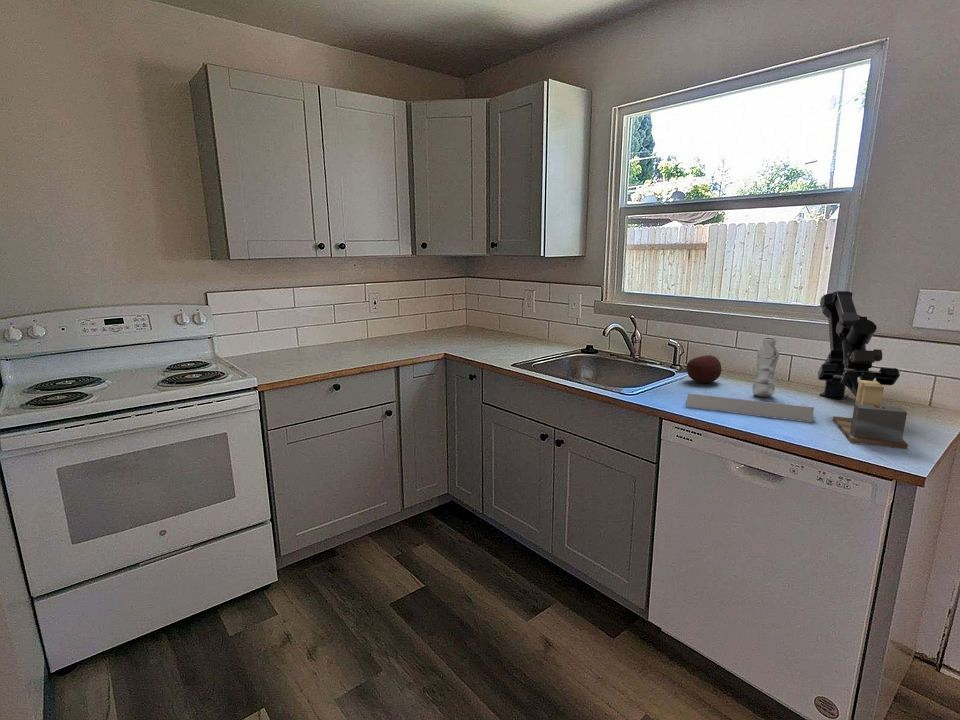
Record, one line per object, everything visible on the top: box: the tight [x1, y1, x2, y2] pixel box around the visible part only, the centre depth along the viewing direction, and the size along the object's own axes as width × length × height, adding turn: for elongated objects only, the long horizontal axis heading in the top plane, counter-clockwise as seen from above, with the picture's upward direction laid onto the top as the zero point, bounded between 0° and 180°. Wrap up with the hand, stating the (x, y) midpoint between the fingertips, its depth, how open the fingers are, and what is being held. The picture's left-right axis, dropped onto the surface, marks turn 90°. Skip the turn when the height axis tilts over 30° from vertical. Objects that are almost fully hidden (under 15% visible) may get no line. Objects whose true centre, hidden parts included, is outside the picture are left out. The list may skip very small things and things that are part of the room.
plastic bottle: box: [751, 337, 780, 398], centre depth 169 cm, size 6×7×20 cm
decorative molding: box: [686, 393, 815, 423], centre depth 158 cm, size 34×5×10 cm
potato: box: [686, 354, 722, 384], centre depth 188 cm, size 11×13×10 cm
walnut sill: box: [832, 403, 909, 450], centre depth 136 cm, size 18×12×9 cm, turn 157°
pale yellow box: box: [854, 379, 885, 408], centre depth 138 cm, size 8×4×12 cm, turn 157°
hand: (860, 399), depth 145 cm, fingers closed
